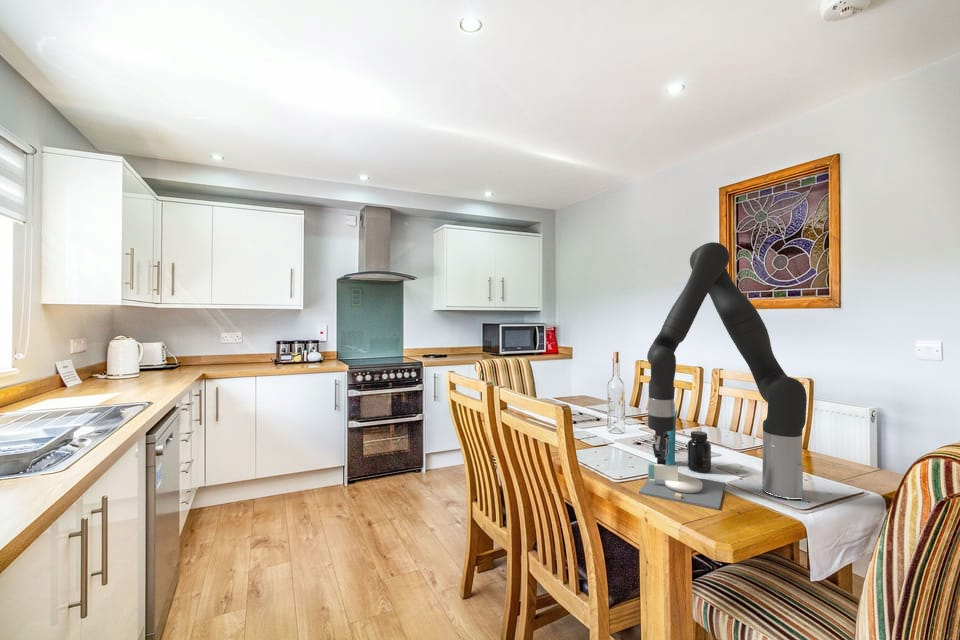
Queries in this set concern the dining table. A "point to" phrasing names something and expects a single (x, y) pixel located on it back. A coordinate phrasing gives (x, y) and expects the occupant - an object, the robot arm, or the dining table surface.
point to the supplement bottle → (699, 452)
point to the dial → (674, 478)
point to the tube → (671, 445)
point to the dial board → (704, 498)
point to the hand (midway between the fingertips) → (661, 470)
